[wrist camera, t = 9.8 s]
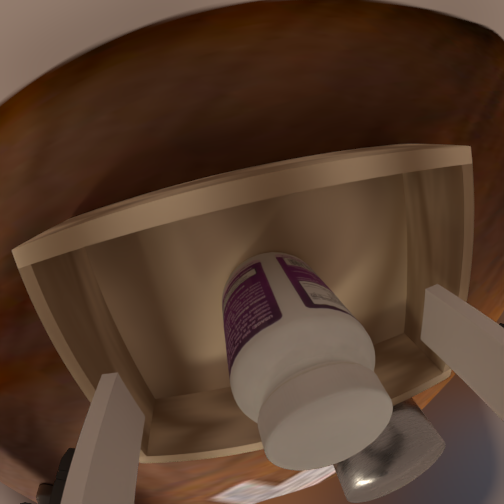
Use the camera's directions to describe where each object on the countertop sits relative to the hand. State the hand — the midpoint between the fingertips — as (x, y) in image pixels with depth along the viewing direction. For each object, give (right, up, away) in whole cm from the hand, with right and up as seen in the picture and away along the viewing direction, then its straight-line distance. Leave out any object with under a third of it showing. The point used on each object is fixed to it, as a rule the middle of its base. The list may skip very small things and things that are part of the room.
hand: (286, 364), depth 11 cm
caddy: (-1, +2, +6) cm, 6 cm away
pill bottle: (0, +2, +5) cm, 6 cm away
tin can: (+7, -7, +10) cm, 14 cm away
